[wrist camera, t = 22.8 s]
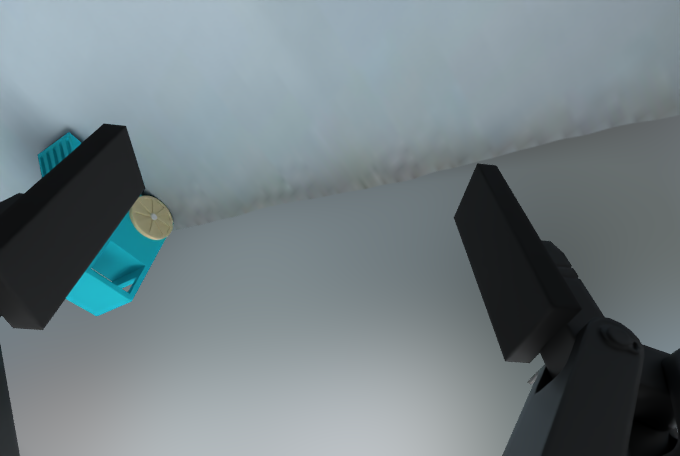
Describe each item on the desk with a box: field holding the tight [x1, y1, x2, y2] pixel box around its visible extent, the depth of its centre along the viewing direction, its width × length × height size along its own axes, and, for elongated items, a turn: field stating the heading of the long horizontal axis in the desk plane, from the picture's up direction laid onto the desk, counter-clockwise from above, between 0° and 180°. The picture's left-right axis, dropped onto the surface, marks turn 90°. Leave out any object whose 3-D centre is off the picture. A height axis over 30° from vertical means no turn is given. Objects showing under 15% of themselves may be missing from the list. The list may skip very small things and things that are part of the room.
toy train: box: [38, 132, 174, 316], centre depth 43 cm, size 8×17×15 cm, turn 29°
